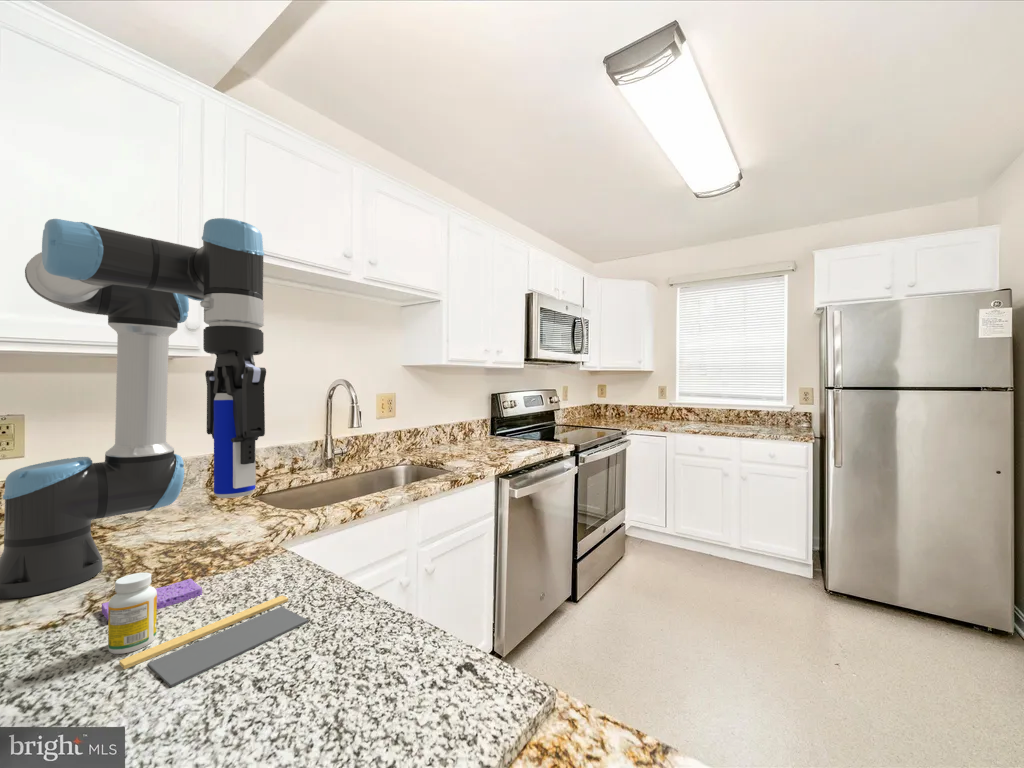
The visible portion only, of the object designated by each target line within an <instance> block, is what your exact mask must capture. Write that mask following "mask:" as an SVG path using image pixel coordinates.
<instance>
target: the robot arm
mask: <svg viewBox="0 0 1024 768" xmlns="http://www.w3.org/2000/svg"><path fill="white" fill-rule="evenodd" d="M41 239H42V241H41V252H39V253H37V254H35V255H34V256H33V257H32V258H31V259H29V261H28V262H27V263H26V266H25V268H24V278H25V281H26V283H27V284H28V285H29V287H30V289H31V290H32V291H33V292H34V293H36V295H38V296H39V297H40V298H42V299H44V300H46V301H47V302H50V303H52V304H54V305H57V306H59V307H62V308H64V309H67V310H71V311H74V312H75V311H76V312H80V313H85V314H91V315H102V316H107V325H108V326H109V327H110V328H111V329H113V330H114V332H116V334H117V345H116V346H117V348H116V350H117V351H116V352H117V353H116V382H115V383H116V386H115V388H116V389H115V390H116V391H115V392H116V393H115V396H116V397H115V425H114V426H115V428H114V429H115V430H114V444H113V446H112V447H111V448H109V449H108V450H107V451H105V453H104V454H105V455H104V461H101V462H93V460H92V459H91V457H89V456H77V457H71V458H69V457H68V458H63V459H62V458H61V459H56V460H49V461H46V462H45V461H44V462H40V463H35V464H32V465H27V466H24V467H20V468H18V469H15V470H13V471H11V472H10V473H9V474H8V475H7V476H6V477H5V480H4V482H5V484H4V493H3V495H2V500H4V523H3V524H4V525H3V526H4V527H3V551H2V554H1V556H0V600H4V599H5V600H7V599H8V600H9V599H18V598H19V599H20V598H26V597H32V596H37V595H42V594H43V595H45V594H47V593H51V592H55V591H59V590H63V589H66V588H69V587H73V586H77V585H78V584H81V583H83V582H86V581H88V580H91V579H92V577H93V578H94V577H96V576H97V575H96V574H98V573H99V572H100V571H101V570H102V571H103V557H102V556H101V553H100V550H99V549H98V547H97V544H96V543H95V541H94V539H93V536H92V530H91V528H92V526H91V525H92V521H95V520H99V519H104V518H106V519H107V518H111V517H116V516H123V515H128V514H133V513H139V512H144V511H146V512H149V511H152V510H154V509H155V510H156V509H159V508H165V507H168V506H170V505H172V504H173V503H174V502H175V501H176V500H177V499H178V497H179V496H180V494H181V491H182V488H183V484H184V479H185V478H184V477H185V468H184V467H185V466H184V465H185V464H184V460H183V458H182V456H181V455H179V454H177V453H175V447H173V446H172V445H171V444H170V443H168V442H167V421H168V420H167V419H168V418H167V415H168V413H167V412H168V411H167V410H168V384H169V383H168V377H169V376H168V375H169V374H168V373H169V343H170V341H169V338H170V336H172V335H173V334H174V333H175V332H176V331H178V324H181V323H184V322H186V321H187V319H188V317H189V313H188V312H189V311H190V307H189V306H190V302H189V299H191V300H193V301H196V302H197V301H199V302H200V303H199V305H200V307H202V308H203V322H204V323H205V324H206V325H208V326H205V327H204V328H203V335H202V336H203V339H202V340H203V351H204V352H205V353H207V354H211V355H215V356H216V358H215V363H214V367H213V370H212V369H211V370H209V369H208V370H205V374H204V375H205V382H206V434H207V435H211V437H212V439H213V440H214V398H215V396H216V393H227V394H228V395H230V396H232V397H233V415H234V423H235V431H236V437H234V438H232V439H231V441H232V442H233V488H235V489H236V488H242V487H247V486H253V485H255V486H256V485H257V479H256V478H257V477H256V476H257V475H256V460H257V459H256V456H257V454H256V452H257V451H256V441H258V440H259V438H260V437H265V435H266V427H265V426H266V423H265V422H266V420H265V418H266V417H265V416H266V414H265V413H266V412H265V410H266V409H265V406H266V405H265V380H266V376H267V369H266V368H265V367H261V366H258V367H257V366H256V363H255V360H254V359H255V358H254V356H259V355H262V354H263V353H264V349H265V348H264V347H265V346H264V343H265V342H264V331H263V330H262V329H260V328H263V327H264V326H265V325H264V324H265V323H264V319H265V315H264V312H265V311H264V310H265V309H264V307H265V305H264V302H265V301H264V256H265V252H264V245H263V235H262V233H261V231H260V230H259V228H258V227H256V226H254V225H253V224H250V223H248V222H245V221H241V220H238V219H232V218H227V217H226V218H225V217H223V218H222V217H217V218H211V219H208V220H207V221H206V222H204V224H203V232H202V236H201V241H202V246H201V247H199V248H198V247H193V246H188V245H184V244H180V243H174V242H170V241H165V240H160V239H156V238H150V237H145V236H140V235H137V234H132V233H128V232H124V231H123V232H122V231H119V230H114V229H110V228H107V227H101V226H96V225H91V224H90V223H88V222H85V221H84V222H83V221H72V220H66V219H61V218H60V219H59V218H51V219H49V220H47V221H46V222H45V224H44V228H43V230H42V238H41ZM102 571H101V572H102ZM101 572H100V573H101ZM100 573H99V574H100ZM99 574H98V575H99ZM95 575H96V576H95ZM90 578H91V579H90Z"/></svg>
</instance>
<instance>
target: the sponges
mask: <svg viewBox="0 0 1024 768" xmlns="http://www.w3.org/2000/svg"><path fill="white" fill-rule="evenodd" d="M155 589H156V591H157V610H160V609H163V608H166V607H167V608H168V607H170V606H173V605H176V604H180V603H183V602H186V600H187V601H189V599H190V600H192V599H191V598H193V599H196V598H198V597H197V596H199V597H201V596H200V595H202V596H203V587H202V586H201V585H199V584H198V583H196V582H195V581H194V579H192V578H188V579H185V580H182V581H177V582H175V583H172V584H169V585H164V586H162V587H156V588H155ZM195 597H196V598H195ZM108 605H109V601H107V602H104V603H101V607H100V608H101V613H102V615H103V616H104V618H106V621H107V622H108Z"/></svg>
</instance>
